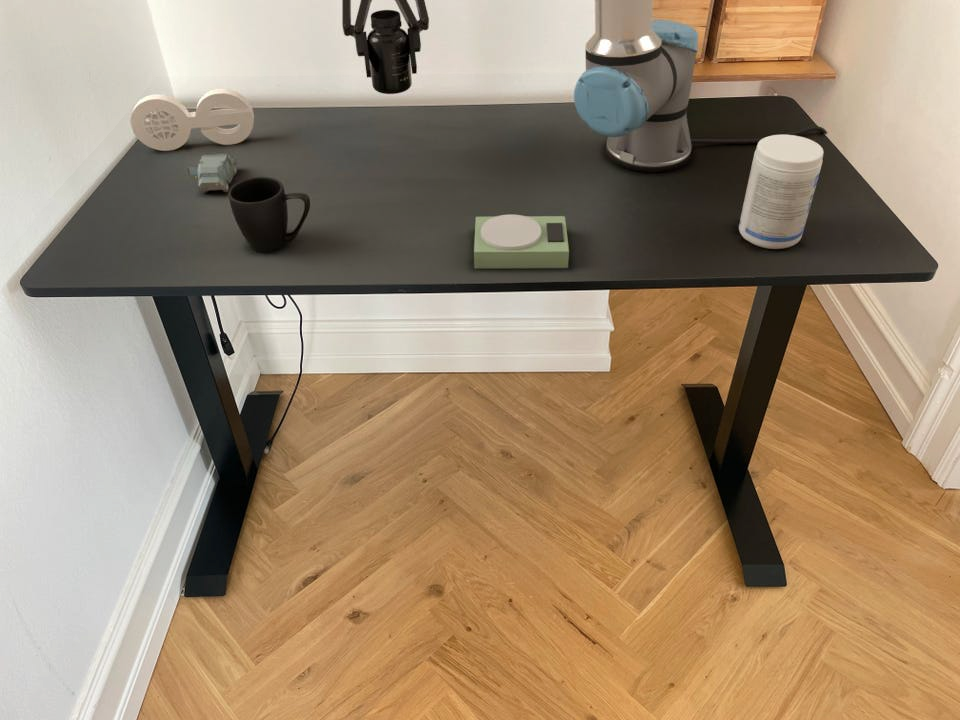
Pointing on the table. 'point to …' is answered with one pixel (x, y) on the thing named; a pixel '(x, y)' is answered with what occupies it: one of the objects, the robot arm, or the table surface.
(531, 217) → the scale
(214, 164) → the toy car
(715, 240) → the table surface
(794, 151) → the supplement tub
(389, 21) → the supplement bottle
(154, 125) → the white double disc plate
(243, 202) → the mug
